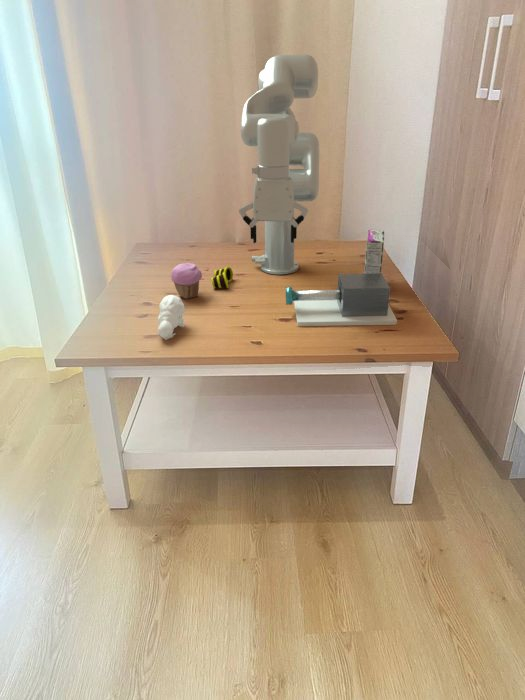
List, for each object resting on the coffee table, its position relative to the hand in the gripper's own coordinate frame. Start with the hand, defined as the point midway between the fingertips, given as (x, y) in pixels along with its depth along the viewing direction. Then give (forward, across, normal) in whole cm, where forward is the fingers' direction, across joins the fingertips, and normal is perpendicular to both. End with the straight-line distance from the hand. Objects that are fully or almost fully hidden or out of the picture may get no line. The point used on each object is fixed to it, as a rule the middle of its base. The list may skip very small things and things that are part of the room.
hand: (273, 241), depth 139 cm
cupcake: (+20, -25, +12) cm, 35 cm away
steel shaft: (+17, +15, 0) cm, 23 cm away
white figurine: (+21, -27, -11) cm, 35 cm away
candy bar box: (+20, +30, +17) cm, 40 cm away
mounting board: (+20, +19, 0) cm, 28 cm away
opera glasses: (+20, -16, +21) cm, 33 cm away
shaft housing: (+19, +24, 0) cm, 31 cm away
